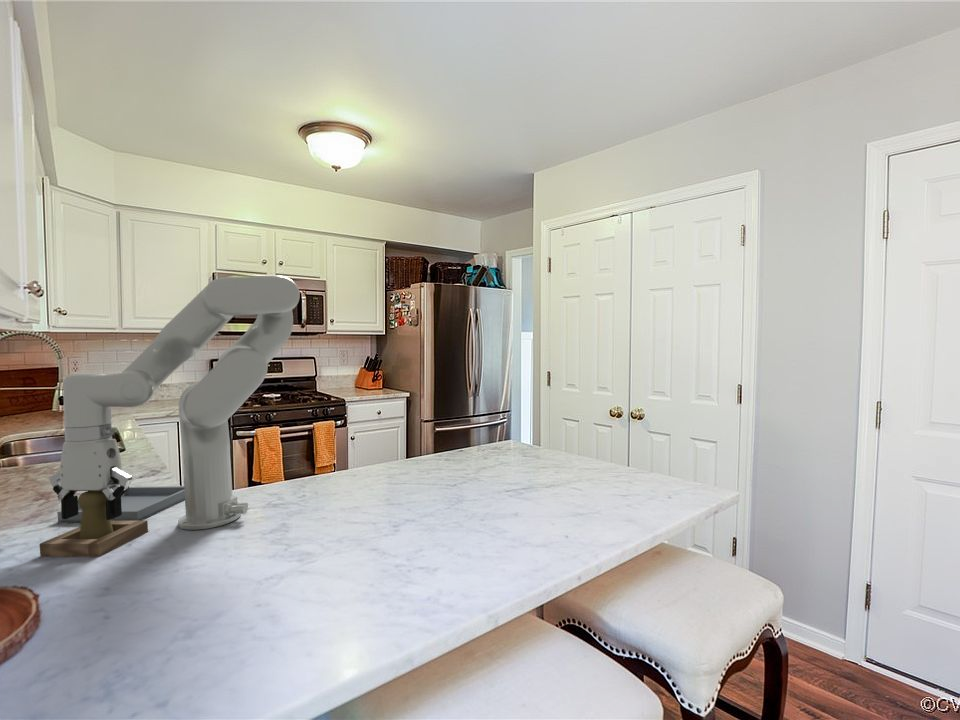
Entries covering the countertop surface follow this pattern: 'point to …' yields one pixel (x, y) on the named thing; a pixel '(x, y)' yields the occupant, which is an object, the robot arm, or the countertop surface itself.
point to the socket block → (93, 540)
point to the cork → (94, 515)
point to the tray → (141, 503)
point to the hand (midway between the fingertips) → (92, 517)
